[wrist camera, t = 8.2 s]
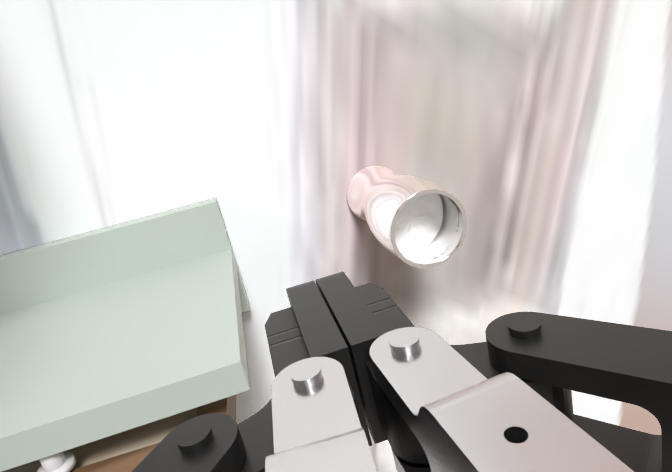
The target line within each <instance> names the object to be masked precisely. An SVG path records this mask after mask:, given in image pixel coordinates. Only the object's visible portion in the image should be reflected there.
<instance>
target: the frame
mask: <svg viewBox="0 0 672 472" xmlns="http://www.w3.org/2000/svg"><path fill="white" fill-rule="evenodd" d="M209 413H223V414H227V415H229V416H231V417H232V418H233V419H234V420H235V421H236V395H233V396H230V397H227V398H224V399H221V400H218V401H215V402H212V403H208V404H205V405H202V406H199V407H196V408H193V409H190V410H187V411H184V412H181V413H178V414H175V415H172V416H169V417H166V418H163V419H160V420H157V421H154V422H151V423H148V424H145V425H142V426H139V427H136V428H133V429H130V430H127V431H124V432H121V433H118V434H114V435H111V436H108V437H105V438H102V439H99V440H96V441H93V442H90V443H87V444H84V445H81V446H78V447H75V448H72V449H69V450H66V451H69V452H72V453H73V455H74V457H75V459H76V464H75V466H74V467H73V469H72V470H71V471H70V472H132V471H133V470H134V469H135V468H136V467H137V466H138V465H139V464H140V463H141V462H142V460H143V459H144V458H145V457H146V456H147V455H148V454H149V453H150V452H151V451H152V450H153V449H154V448H155V447H156V446H157V445H158V444H159V443H160V442H161V441H162V440H163V439H164V438H165V437H166V436H167V435H168V434H169V433H170V432H171V431H172V430H173V429H175V428H176V427H177V426H179V425H181V424H182V423H184V422H186V421H188V420H190V419H192V418H194V417H197V416H200V415H204V414H209ZM66 451H63V452H66ZM40 466H41V463H40V461H39V460H36V461H33V462H30V463H27V464H23V465H20V466H17V467H14V468H11V469H8V470H5V471H2V472H37V471H38V469H39V467H40Z"/></svg>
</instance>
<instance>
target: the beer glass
mask: <svg viewBox="0 0 672 472" xmlns="http://www.w3.org/2000/svg"><path fill="white" fill-rule="evenodd" d="M347 201H348V204H349V207H350V209H351V210H352V212H353V213H354V214H355V215H356V216H357V217H359V218H361V219H363V220H365V221H367V224H368V226H369V228H370V230H371V232H372V233H373V235H374V237H375V238H376V239H377V240H378V241H379V243H380V244H381V245H382V246H383V247H384V248H386V249H387V250H388V251H389V252H391V253H392V254H393V255H395V256H396V257H398V258H400V259H401V260H402V261H403V262H405V263H406V264H408V265H410V266H413V267H416V268H433V267H436V266H439V265H441V264H443V263H445V262H447V261H448V260H450V259H451V258H452V257H453V256H454V255H455V254H456V253H457V252H458V250H459V249H460V247H461V246H462V244H463V242H464V239H465V237H466V233H467V216H466V212H465V209H464V207H463V205H462V204H461V202H460V201H459V200H458V199H457V198H456V197H455V196H454V195H452V194H451V193H449V192H447V191H445V190H444V189H442V188H441V187H439V186H438V185H436V184H434V183H432V182H430V181H428V180H425V179H422V178H419V177H416V176H409V175H396V174H395V173H394V172H393V171H392V170H390V169H388V168H386V167H384V166H379V165H373V166H368V167H365V168H363V169H361V170H360V171H359V172H357V173H356V174H355V175H354V177H353V178H352V179H351V181H350V183H349V186H348V189H347Z"/></svg>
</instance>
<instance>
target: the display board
mask: <svg viewBox="0 0 672 472" xmlns="http://www.w3.org/2000/svg"><path fill="white" fill-rule="evenodd" d="M247 311H250V305H249V301H248V298H247V295H246V291H245V288H244V285H243V282H242V279H241V275H240V272H239V269H238V266H237V263H236V259H235V256H234V253H233V250H232V247H231V243H230V240H229V237H228V234H227V231H226V227H225V224H224V221H223V218H222V215H221V211H220V208H219V205H218V202H217V199H216V198H213V199H209V200H206V201H202V202H198V203H194V204H191V205H187V206H183V207H179V208H176V209H172V210H168V211H165V212H161V213H157V214H153V215H150V216H146V217H142V218H139V219H135V220H131V221H127V222H124V223H120V224H116V225H113V226H109V227H105V228H101V229H98V230H94V231H90V232H87V233H83V234H79V235H75V236H72V237H68V238H64V239H61V240H57V241H53V242H49V243H46V244H42V245H38V246H35V247H31V248H27V249H23V250H20V251H16V252H12V253H9V254H5V255H1V256H0V472H2V471H5V470H8V469H11V468H14V467H17V466H20V465H23V464H27V463H30V462H33V461H36V460H39V461H40V463H41V466H40V467H39V469H38V471H37V472H70V471H71V470H72V469H73V467H74V466H75V464H76V459H75V457H74V455H73V453H72V452H69V451H66V450H69V449H72V448H75V447H78V446H81V445H84V444H87V443H90V442H93V441H96V440H99V439H102V438H105V437H108V436H111V435H114V434H118V433H121V432H124V431H127V430H130V429H133V428H136V427H139V426H142V425H145V424H148V423H151V422H154V421H157V420H160V419H163V418H166V417H169V416H172V415H175V414H178V413H181V412H184V411H187V410H190V409H193V408H196V407H199V406H202V405H205V404H208V403H212V402H215V401H218V400H221V399H224V398H227V397H230V396H233V395H236V394H239V393H242V392H245V391H248V390H250V385H249V376H248V366H247V357H246V348H245V339H244V330H243V321H242V313H244V312H247ZM63 451H66V452H63Z"/></svg>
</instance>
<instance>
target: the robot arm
mask: <svg viewBox="0 0 672 472" xmlns="http://www.w3.org/2000/svg"><path fill="white" fill-rule="evenodd" d="M316 285H317V286H316ZM286 290H287V294H288V298H289V301H290V305H291V307H290V308H287V309H284V310H281V311H277V312H274V313H271V315H270V317H269V318H268V320H267V322H266V324H265V329H266V334H267V338H268V344H269V349H270V354H271V359H272V364H273V369H274V374H275V379H274V380H273V382H272V385H271V398H272V399H271V400H270V401H269V402H268V404H267V405H266V406H265V407H264V408H263V409H261V410H260V411H259V412H258V413H256V414H255V415H253V416H252V417H250V418H248V419H246V420H245V421H243V422H241V423H240V424H238V425H237V423H236V421H235V420H234V419H233V418H232V417H231V416H229V415H227V414H223V413H209V414H204V415H200V416H197V417H194V418H192V419H190V420H188V421H186V422H184V423H182V424H181V425H179V426H177V427H176V428H175V429H173V430H172V431H171V432H170V433H169V434H168V435H167V436H166V437H165V438H164V439H163V440H162V441H161V442H160V443H159V444H158V445H157V446H156V447H155V448H154V449H153V450H152V451H151V452H150V453H149V454H148V455H147V456H146V457H145V458H144V459H143V460H142V462H141V463H140V464H139V465H138V466H137V467H136V468H135V469H134V470H133V471H132V472H377V470H376V467H375V464H374V461H373V457H372V454H371V451H370V448H369V446H371V445H372V442H371V438H370V434H369V431H370V433H371V436H372V438H373V440H374V442H375V444H376V443H379V442H382V441H385V440H387V439H388V441H389V443H390V445H391V447H392V452H393V456H394V460H395V465H396V469H397V471H398V472H672V331H665V330H658V329H651V328H644V327H637V326H630V325H623V324H616V323H608V322H601V321H594V320H587V319H580V318H573V317H566V316H558V315H551V314H544V313H537V312H517V313H511V314H507V315H504V316H501V317H499V318H497V319H495V320H494V321H492V322H491V323H490V324H489V325H488V327H487V328H486V340H487V342H481V343H473V344H465V345H449V344H448V343H447V342H446V341H444V340H443V339H442V338H441V337H440V336H439V335H438V334H437V333H435V332H434V331H432V330H429V329H426V328H421V327H415V326H414V325H413V324H412V323H411V322H410V320H409V319H408V318H407V317H406V316H405V315H404V313H403V312H402V311H401V310H400V309H399V307H397V306H396V304H395V303H394V301H393V300H392V299H390V297H389V295H388V294H387V293H386V292H385V291H384V289H383V288H380V287H377V286H374V285H372V284H369V283H368V284H365V285H361V286H358V287H354V286H353V285H352V283H351V282H350V280H349V279H348V277H347V276H346V275H345V273H344V272H340V273H337V274H333V275H330V276H327V277H324V278H320V279H317V280H316V284H315V282H314V281H311V282H307V283H304V284H301V285H297V286H294V287H291V288H287V289H286ZM571 390H574V391H578V392H582V393H587V394H591V395H595V396H600V397H604V398H609V399H613V400H617V401H622V402H626V403H630V404H634V405H638V406H640V407H643V408H644V409H646V410H648V411H649V412H651V413H652V414H653V415H654V416H655V417H656V418H657V419H658V421H659V423H660V425H661V430H662V435H651V434H648V433H644V432H640V431H636V430H632V429H628V428H625V427H621V426H617V425H613V424H609V423H605V422H601V421H597V420H594V419H590V418H586V417H582V416H578V415H574V414H573V406H572V393H571ZM368 429H369V430H368Z"/></svg>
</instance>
